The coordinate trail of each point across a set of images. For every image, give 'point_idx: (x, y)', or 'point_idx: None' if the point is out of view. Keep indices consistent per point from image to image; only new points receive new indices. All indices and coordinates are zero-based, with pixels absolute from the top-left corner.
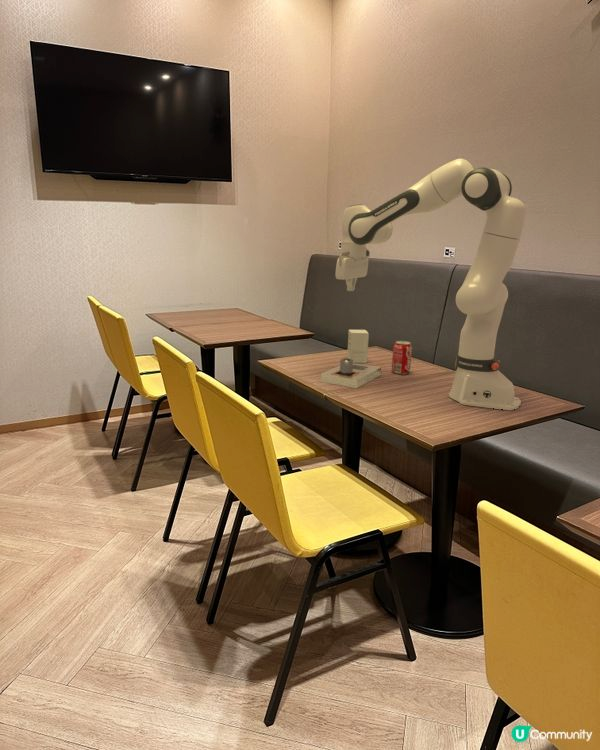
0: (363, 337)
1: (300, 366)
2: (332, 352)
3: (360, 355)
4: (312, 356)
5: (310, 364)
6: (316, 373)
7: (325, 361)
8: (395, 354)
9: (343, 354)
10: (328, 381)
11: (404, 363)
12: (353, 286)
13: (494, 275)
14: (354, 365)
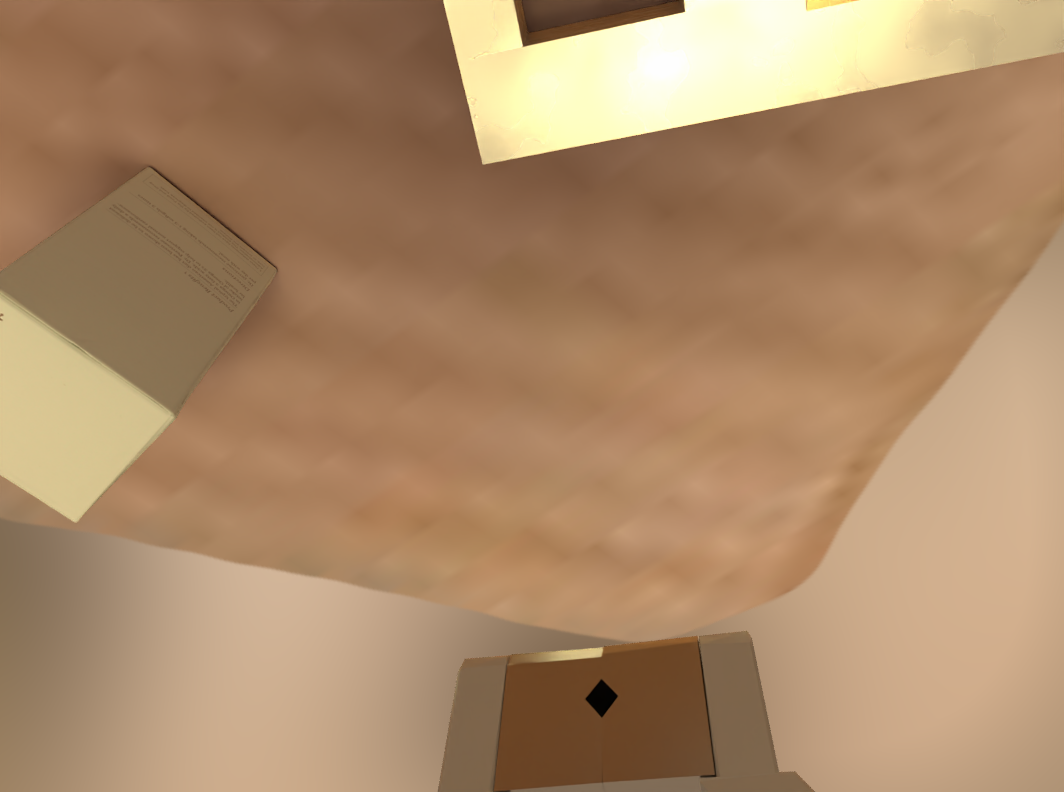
0: (72, 298)
1: (693, 446)
2: (156, 539)
3: (178, 233)
4: (378, 556)
5: (585, 436)
6: (797, 241)
7: (416, 419)
8: None
9: None
10: None
11: None
12: (562, 764)
13: None
14: (522, 41)
